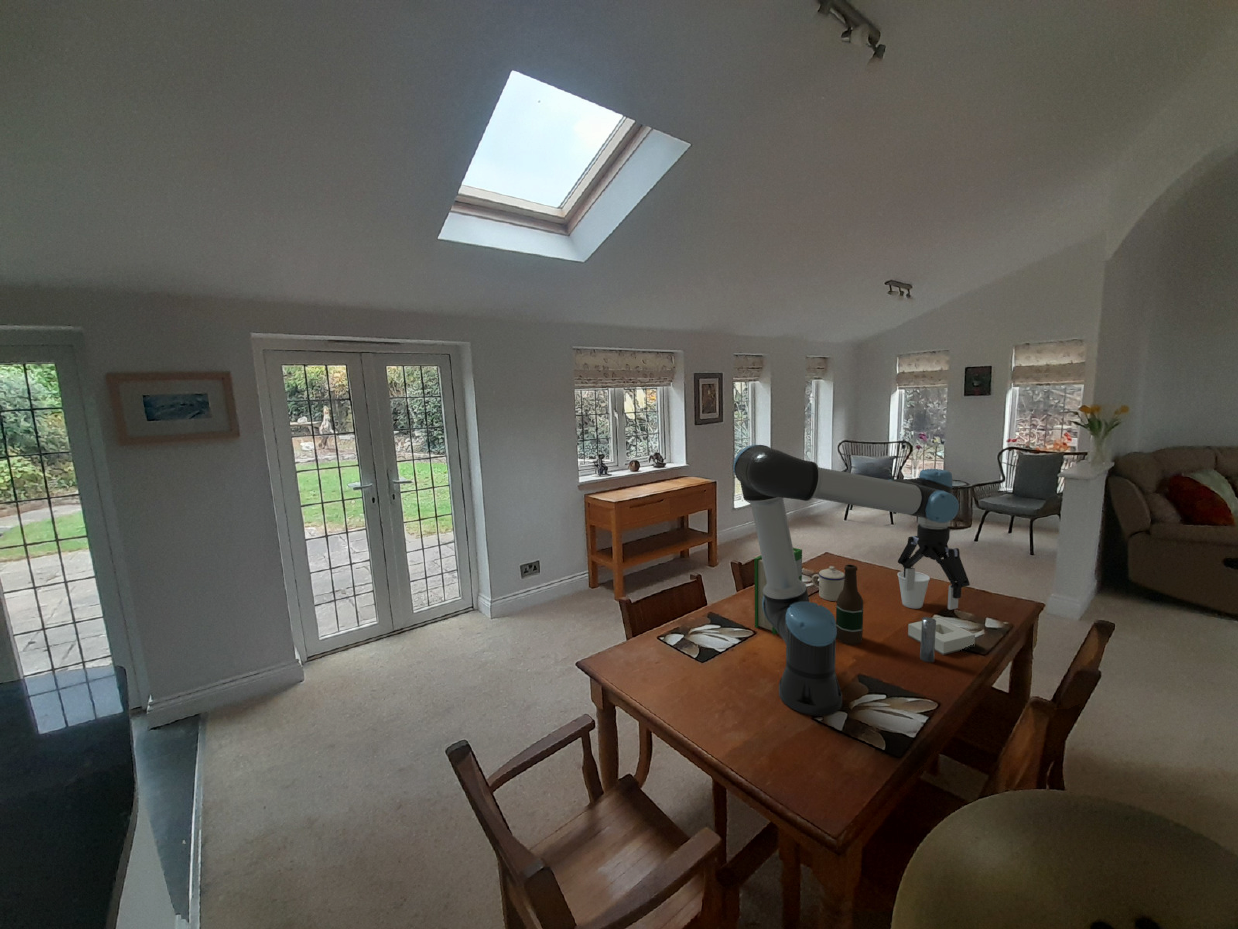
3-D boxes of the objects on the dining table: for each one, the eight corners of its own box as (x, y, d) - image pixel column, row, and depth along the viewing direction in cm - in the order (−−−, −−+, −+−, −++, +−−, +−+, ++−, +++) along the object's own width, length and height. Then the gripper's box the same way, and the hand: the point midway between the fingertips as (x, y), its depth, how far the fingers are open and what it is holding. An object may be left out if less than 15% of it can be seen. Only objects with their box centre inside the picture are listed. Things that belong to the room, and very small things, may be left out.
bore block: (943, 655, 142) (943, 642, 142) (908, 636, 154) (908, 624, 153) (974, 647, 146) (975, 634, 145) (937, 629, 157) (938, 617, 156)
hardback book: (775, 634, 158) (775, 563, 155) (754, 627, 164) (754, 558, 160) (801, 616, 170) (802, 549, 166) (781, 610, 175) (782, 545, 172)
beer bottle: (866, 646, 149) (868, 570, 145) (838, 644, 150) (840, 570, 147) (858, 633, 156) (861, 561, 153) (832, 632, 158) (834, 561, 154)
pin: (927, 663, 139) (929, 623, 137) (917, 657, 142) (919, 618, 140) (936, 661, 139) (939, 621, 138) (926, 655, 143) (928, 616, 141)
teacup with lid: (848, 596, 184) (849, 566, 182) (838, 604, 178) (839, 573, 176) (817, 587, 193) (817, 559, 191) (806, 595, 187) (807, 565, 185)
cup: (928, 602, 176) (930, 573, 174) (928, 613, 167) (930, 583, 166) (897, 597, 181) (898, 569, 179) (895, 608, 173) (896, 578, 171)
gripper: (989, 535, 124) (984, 614, 127) (905, 513, 148) (903, 580, 151) (967, 539, 122) (962, 620, 125) (885, 516, 146) (883, 584, 149)
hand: (930, 598), depth 138 cm, fingers open, 13 cm apart
